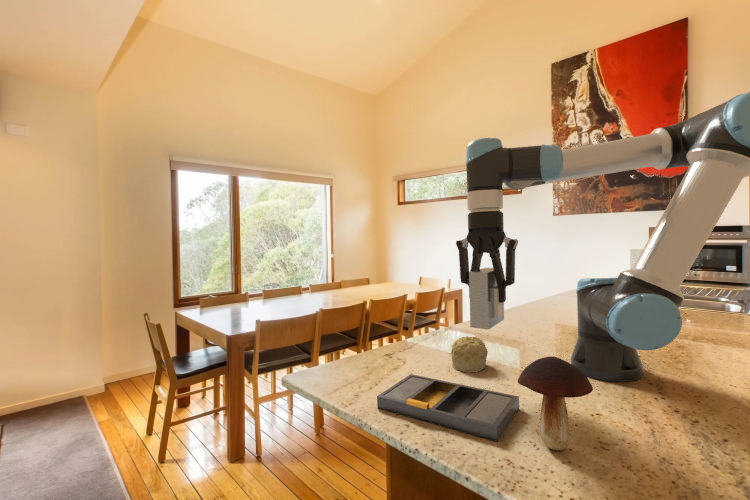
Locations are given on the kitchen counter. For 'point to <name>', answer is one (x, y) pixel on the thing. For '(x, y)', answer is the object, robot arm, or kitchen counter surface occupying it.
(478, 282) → the panel
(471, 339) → the decorative item
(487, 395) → the rack
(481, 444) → the kitchen counter surface
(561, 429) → the decorative mushroom
